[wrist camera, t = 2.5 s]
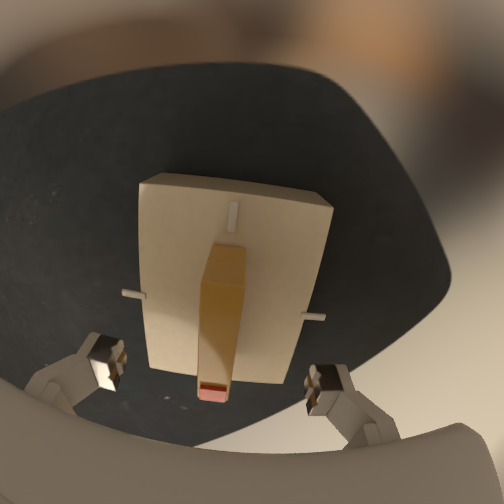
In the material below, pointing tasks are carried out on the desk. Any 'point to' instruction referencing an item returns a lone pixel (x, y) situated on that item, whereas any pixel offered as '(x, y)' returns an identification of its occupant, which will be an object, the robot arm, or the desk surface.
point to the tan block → (257, 267)
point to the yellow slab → (219, 320)
